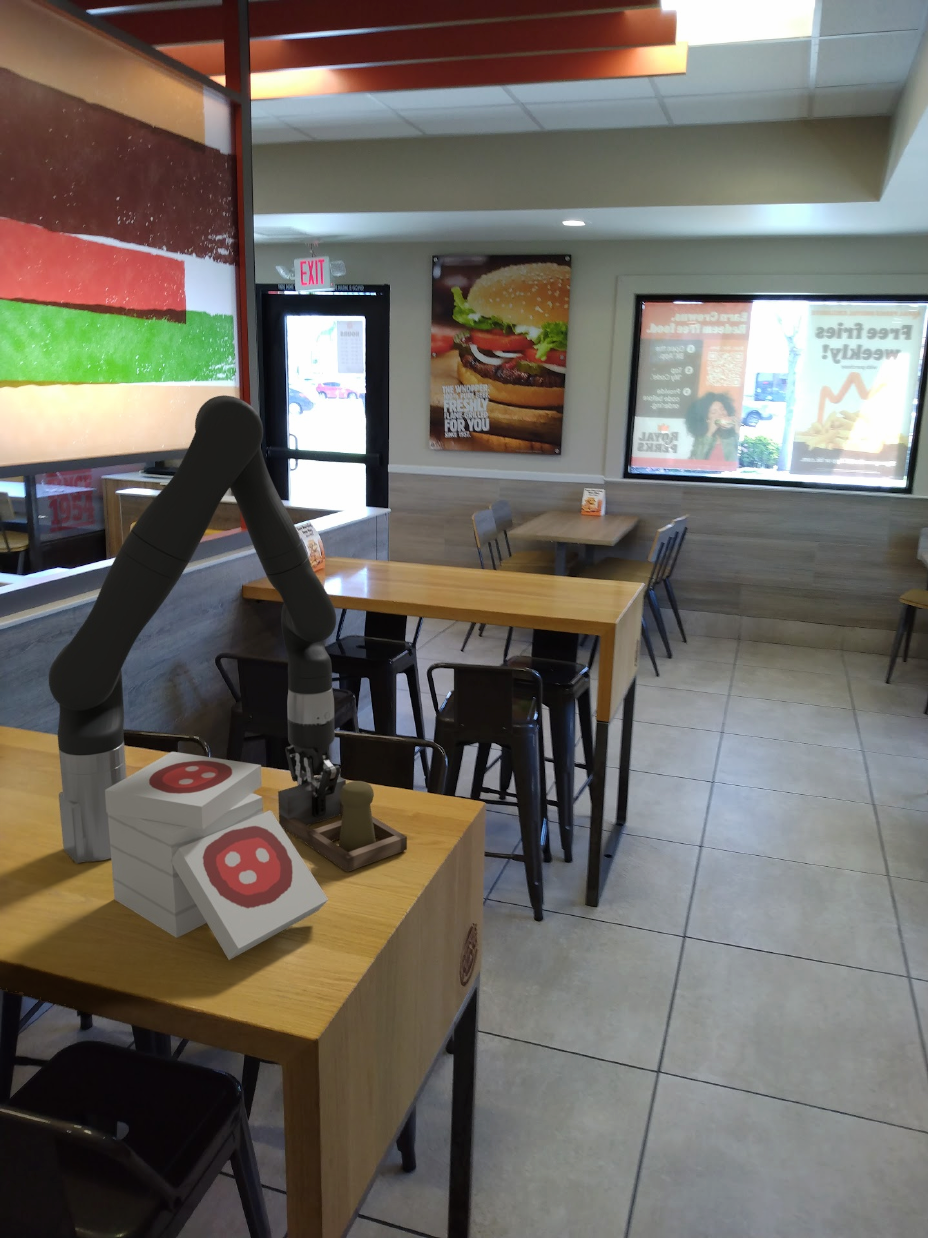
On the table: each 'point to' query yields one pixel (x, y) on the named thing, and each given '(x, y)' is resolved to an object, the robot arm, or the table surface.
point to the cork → (356, 816)
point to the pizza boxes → (206, 852)
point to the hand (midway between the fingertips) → (313, 811)
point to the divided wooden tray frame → (333, 828)
